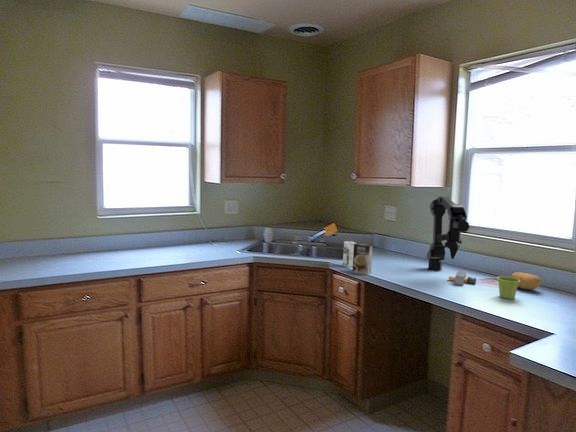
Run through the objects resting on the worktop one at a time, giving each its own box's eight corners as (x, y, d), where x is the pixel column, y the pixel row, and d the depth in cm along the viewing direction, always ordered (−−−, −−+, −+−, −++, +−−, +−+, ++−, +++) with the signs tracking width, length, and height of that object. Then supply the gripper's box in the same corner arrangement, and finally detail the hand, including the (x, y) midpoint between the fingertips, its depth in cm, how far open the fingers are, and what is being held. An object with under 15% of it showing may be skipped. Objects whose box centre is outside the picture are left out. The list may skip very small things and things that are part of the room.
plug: (448, 280, 216) (448, 274, 216) (449, 279, 219) (449, 273, 219) (475, 284, 210) (476, 278, 210) (475, 283, 213) (476, 277, 213)
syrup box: (342, 265, 245) (343, 241, 243) (351, 264, 247) (352, 240, 246) (346, 267, 240) (348, 242, 238) (355, 266, 242) (357, 242, 240)
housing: (454, 284, 210) (455, 275, 209) (457, 278, 222) (458, 270, 222) (463, 285, 208) (463, 276, 208) (465, 279, 220) (466, 271, 220)
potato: (517, 284, 214) (519, 269, 213) (544, 291, 201) (546, 276, 201) (505, 286, 210) (506, 270, 209) (531, 294, 197) (533, 277, 196)
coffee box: (351, 272, 227) (353, 244, 226) (355, 270, 233) (357, 242, 231) (368, 275, 223) (369, 246, 221) (371, 272, 229) (372, 244, 227)
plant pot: (490, 295, 194) (492, 277, 193) (505, 293, 197) (507, 275, 196) (507, 301, 185) (509, 282, 184) (523, 299, 188) (525, 280, 187)
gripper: (441, 226, 226) (439, 254, 228) (435, 229, 210) (433, 259, 212) (463, 228, 221) (461, 256, 222) (458, 231, 205) (456, 262, 206)
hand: (452, 258), depth 216 cm, fingers closed
